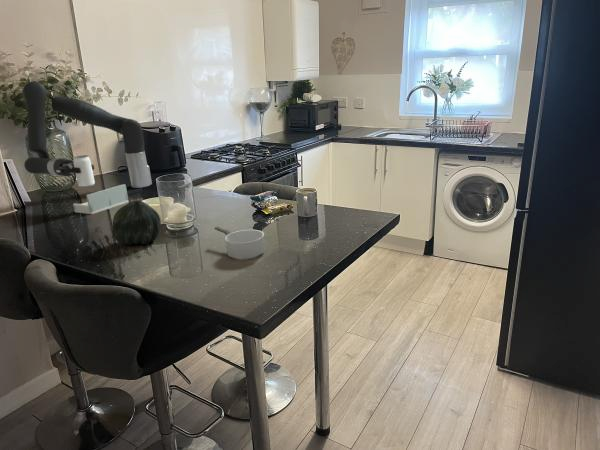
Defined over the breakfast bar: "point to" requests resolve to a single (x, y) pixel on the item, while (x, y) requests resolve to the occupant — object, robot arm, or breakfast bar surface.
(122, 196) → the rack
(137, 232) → the squash
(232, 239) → the saucepan
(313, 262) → the breakfast bar surface
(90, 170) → the can
